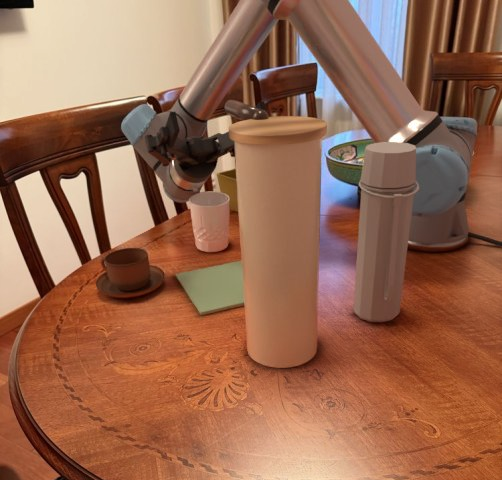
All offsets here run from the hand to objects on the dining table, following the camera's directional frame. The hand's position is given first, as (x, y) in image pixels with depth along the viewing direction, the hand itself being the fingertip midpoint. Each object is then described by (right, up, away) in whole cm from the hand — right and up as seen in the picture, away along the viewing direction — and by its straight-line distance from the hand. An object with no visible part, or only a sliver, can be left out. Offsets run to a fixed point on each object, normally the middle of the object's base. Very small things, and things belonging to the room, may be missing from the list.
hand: (220, 115), depth 75 cm
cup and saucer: (-17, -24, +18) cm, 34 cm away
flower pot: (+3, -2, +51) cm, 51 cm away
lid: (+5, -7, -12) cm, 15 cm away
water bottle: (+24, -29, +5) cm, 38 cm away
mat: (+1, -23, +17) cm, 28 cm away
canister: (+9, -34, -1) cm, 35 cm away
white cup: (-4, -13, +32) cm, 35 cm away
